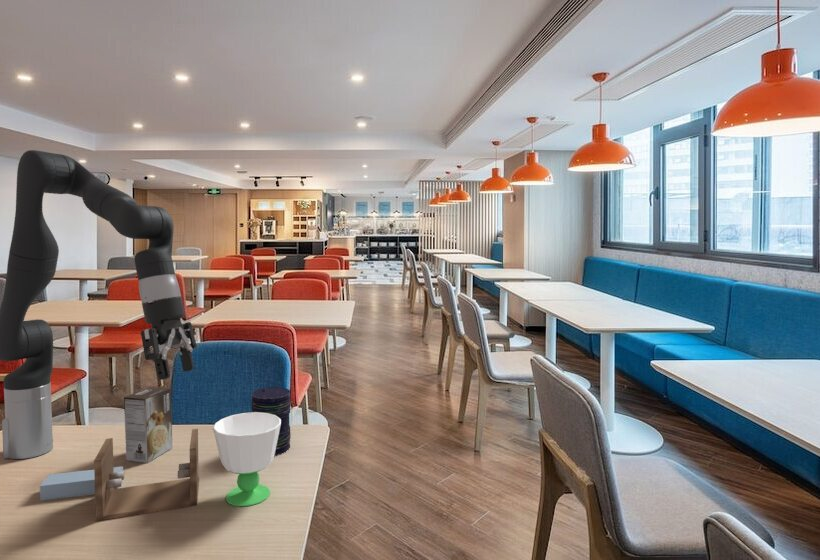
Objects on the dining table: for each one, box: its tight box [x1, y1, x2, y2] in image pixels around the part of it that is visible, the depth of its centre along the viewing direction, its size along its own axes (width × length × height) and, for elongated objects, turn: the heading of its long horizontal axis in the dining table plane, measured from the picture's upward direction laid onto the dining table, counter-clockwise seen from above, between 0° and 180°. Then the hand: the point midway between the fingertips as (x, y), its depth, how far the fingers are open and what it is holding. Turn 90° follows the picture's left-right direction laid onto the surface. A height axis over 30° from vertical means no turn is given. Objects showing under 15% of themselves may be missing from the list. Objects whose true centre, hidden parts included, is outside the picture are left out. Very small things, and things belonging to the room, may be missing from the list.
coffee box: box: [123, 386, 173, 464], centre depth 124 cm, size 9×6×16 cm
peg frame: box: [93, 428, 200, 522], centre depth 103 cm, size 18×11×12 cm, turn 111°
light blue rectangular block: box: [39, 466, 124, 502], centre depth 106 cm, size 14×5×4 cm, turn 108°
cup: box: [212, 412, 281, 508], centre depth 105 cm, size 14×14×16 cm
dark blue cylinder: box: [250, 386, 292, 457], centre depth 129 cm, size 10×10×15 cm
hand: (177, 374), depth 103 cm, fingers open, 8 cm apart
